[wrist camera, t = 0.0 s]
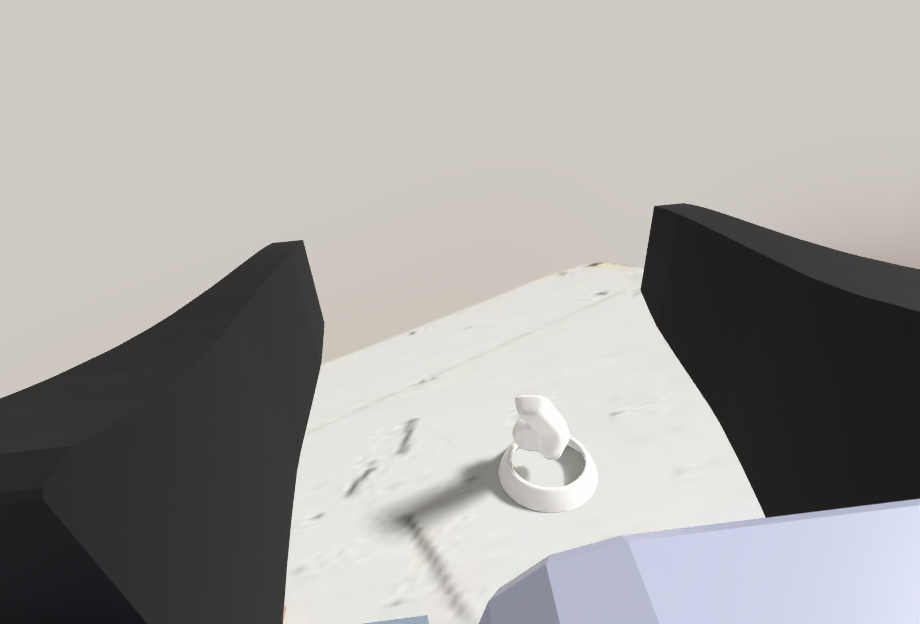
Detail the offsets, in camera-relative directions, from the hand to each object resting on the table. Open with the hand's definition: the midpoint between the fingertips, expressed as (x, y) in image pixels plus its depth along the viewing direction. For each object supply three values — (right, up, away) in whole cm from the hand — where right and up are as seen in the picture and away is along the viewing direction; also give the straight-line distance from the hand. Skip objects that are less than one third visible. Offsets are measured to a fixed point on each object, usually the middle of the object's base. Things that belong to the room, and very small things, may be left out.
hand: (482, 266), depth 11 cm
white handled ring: (+5, -12, +23) cm, 27 cm away
